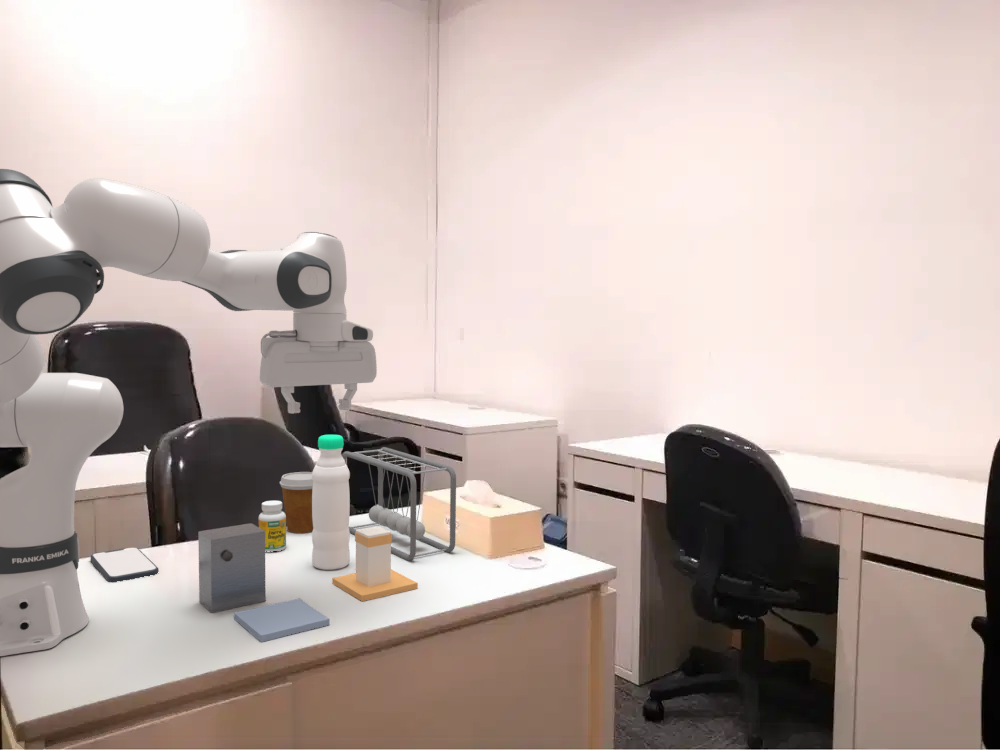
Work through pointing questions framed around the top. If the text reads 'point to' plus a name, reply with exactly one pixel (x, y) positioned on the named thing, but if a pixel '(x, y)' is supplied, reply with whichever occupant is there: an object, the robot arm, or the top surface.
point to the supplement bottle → (273, 525)
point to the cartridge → (373, 556)
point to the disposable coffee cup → (298, 501)
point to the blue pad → (280, 619)
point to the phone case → (123, 564)
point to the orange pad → (376, 591)
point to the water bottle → (330, 506)
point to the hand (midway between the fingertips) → (319, 411)
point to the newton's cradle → (402, 522)
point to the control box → (231, 567)
